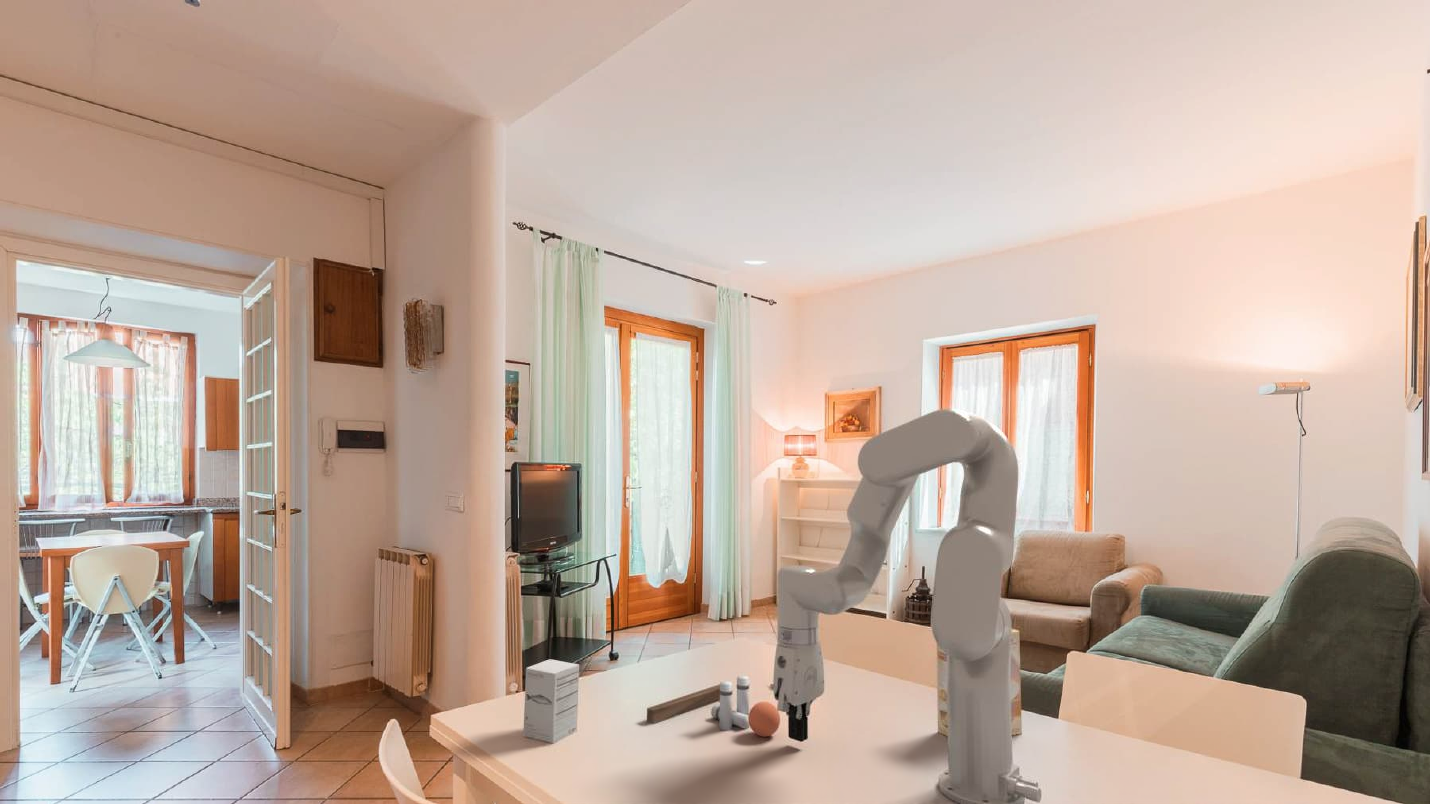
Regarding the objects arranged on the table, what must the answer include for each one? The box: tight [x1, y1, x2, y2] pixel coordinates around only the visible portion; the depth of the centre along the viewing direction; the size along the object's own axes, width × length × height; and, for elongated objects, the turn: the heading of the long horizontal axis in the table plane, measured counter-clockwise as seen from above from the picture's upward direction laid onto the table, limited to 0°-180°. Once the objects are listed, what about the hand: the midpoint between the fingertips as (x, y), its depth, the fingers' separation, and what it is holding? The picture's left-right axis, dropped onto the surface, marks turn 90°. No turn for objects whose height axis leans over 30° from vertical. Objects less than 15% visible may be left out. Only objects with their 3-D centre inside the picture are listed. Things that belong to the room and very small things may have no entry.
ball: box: [749, 701, 781, 737], centre depth 130 cm, size 6×6×6 cm
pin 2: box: [736, 675, 750, 716], centre depth 138 cm, size 2×2×8 cm
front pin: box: [710, 704, 750, 730], centre depth 136 cm, size 2×2×8 cm
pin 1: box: [719, 680, 733, 731], centre depth 134 cm, size 2×2×8 cm
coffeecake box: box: [936, 628, 1023, 738], centre depth 133 cm, size 15×7×20 cm, turn 112°
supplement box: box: [522, 658, 580, 745], centre depth 131 cm, size 7×7×13 cm
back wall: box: [646, 683, 720, 725], centre depth 144 cm, size 2×22×2 cm, turn 137°
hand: (798, 738), depth 125 cm, fingers closed
